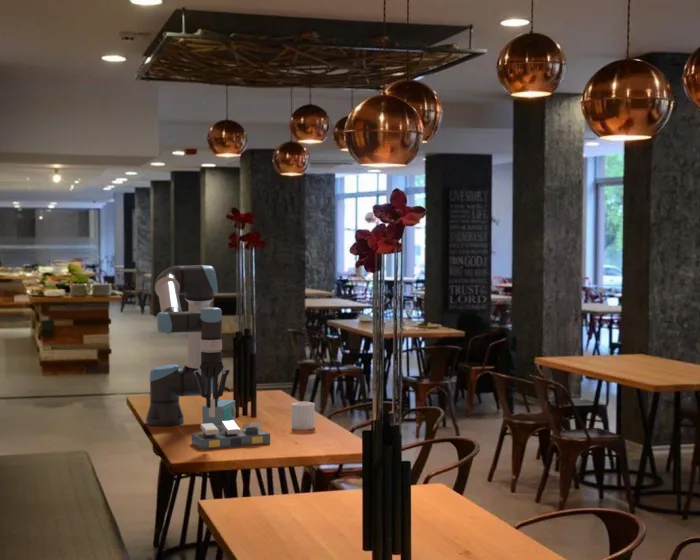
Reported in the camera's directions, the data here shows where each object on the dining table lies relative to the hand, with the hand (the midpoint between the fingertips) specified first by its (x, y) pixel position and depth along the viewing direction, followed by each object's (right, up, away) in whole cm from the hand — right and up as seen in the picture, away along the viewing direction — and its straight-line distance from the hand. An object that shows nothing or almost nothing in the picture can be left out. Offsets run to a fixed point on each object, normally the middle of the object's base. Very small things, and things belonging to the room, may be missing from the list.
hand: (212, 416), depth 360 cm
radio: (0, -10, +26) cm, 28 cm away
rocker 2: (+6, -5, +6) cm, 10 cm away
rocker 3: (+13, -5, +10) cm, 17 cm away
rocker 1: (-1, -5, +3) cm, 6 cm away
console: (+6, -11, +7) cm, 14 cm away
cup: (+31, -10, +37) cm, 49 cm away
